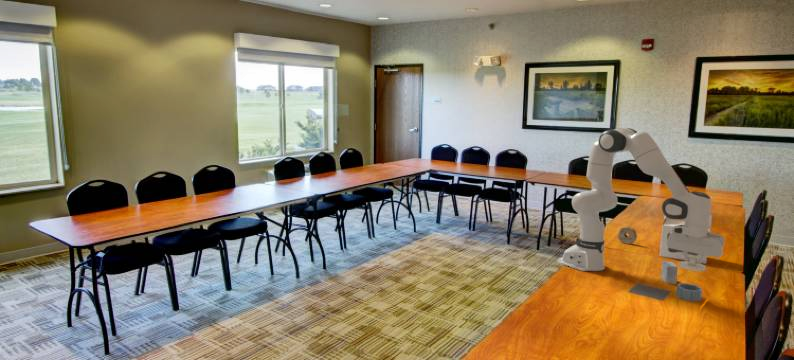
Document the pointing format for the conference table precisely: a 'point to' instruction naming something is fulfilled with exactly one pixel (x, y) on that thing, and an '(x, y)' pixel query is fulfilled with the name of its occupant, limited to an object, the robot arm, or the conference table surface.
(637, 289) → the mat
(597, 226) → the robot arm
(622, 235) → the stone disc
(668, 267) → the medicine box
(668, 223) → the gable box
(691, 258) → the lid
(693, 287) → the bowl
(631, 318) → the conference table surface
